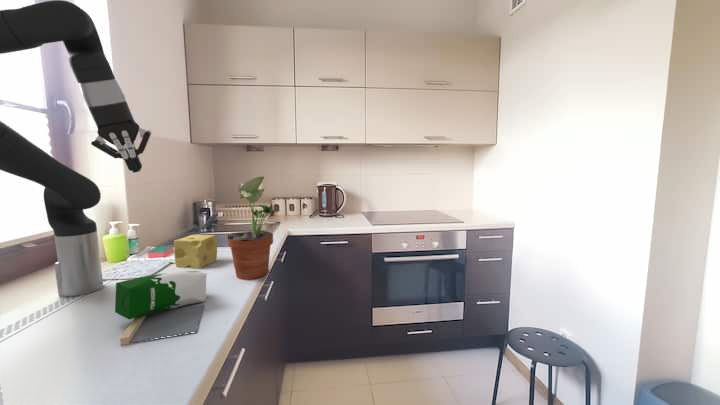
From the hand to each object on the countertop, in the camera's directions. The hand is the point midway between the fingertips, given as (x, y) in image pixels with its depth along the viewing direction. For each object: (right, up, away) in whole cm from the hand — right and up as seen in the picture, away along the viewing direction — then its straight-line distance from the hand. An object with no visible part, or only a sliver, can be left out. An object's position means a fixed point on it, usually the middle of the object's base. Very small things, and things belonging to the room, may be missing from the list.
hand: (137, 171), depth 82 cm
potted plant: (+22, -32, +25) cm, 46 cm away
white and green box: (+3, -30, -10) cm, 32 cm away
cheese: (-3, -31, +36) cm, 48 cm away
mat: (+12, -36, -8) cm, 39 cm away
